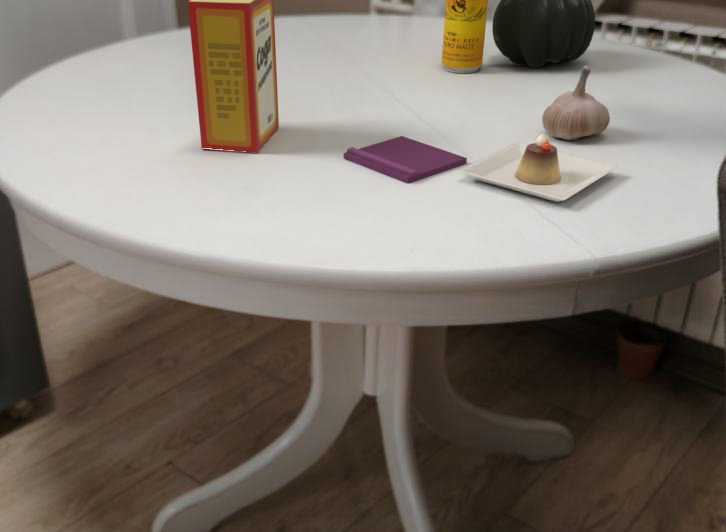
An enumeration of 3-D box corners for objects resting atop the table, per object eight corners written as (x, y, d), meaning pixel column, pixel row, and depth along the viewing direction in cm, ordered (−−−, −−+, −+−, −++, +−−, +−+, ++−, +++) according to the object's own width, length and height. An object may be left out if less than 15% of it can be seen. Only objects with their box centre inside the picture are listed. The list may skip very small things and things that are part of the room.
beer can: (436, 71, 120) (443, -39, 112) (447, 62, 125) (454, -44, 117) (476, 75, 119) (485, -37, 111) (485, 66, 123) (495, -42, 115)
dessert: (562, 211, 76) (570, 162, 74) (456, 181, 83) (460, 135, 80) (617, 176, 84) (626, 130, 81) (516, 151, 90) (521, 108, 88)
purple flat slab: (466, 163, 87) (467, 154, 87) (407, 183, 82) (408, 173, 82) (401, 140, 94) (402, 132, 93) (343, 158, 89) (343, 149, 88)
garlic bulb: (610, 130, 97) (622, 62, 92) (600, 149, 91) (613, 77, 87) (547, 123, 99) (556, 55, 95) (533, 140, 94) (543, 69, 89)
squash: (620, 35, 116) (595, -59, 118) (524, 46, 113) (500, -51, 115) (576, 83, 130) (555, -2, 132) (490, 93, 127) (469, 6, 129)
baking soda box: (257, 153, 90) (248, -1, 81) (201, 149, 91) (187, -3, 82) (278, 127, 98) (272, -15, 89) (227, 124, 99) (216, -17, 90)
